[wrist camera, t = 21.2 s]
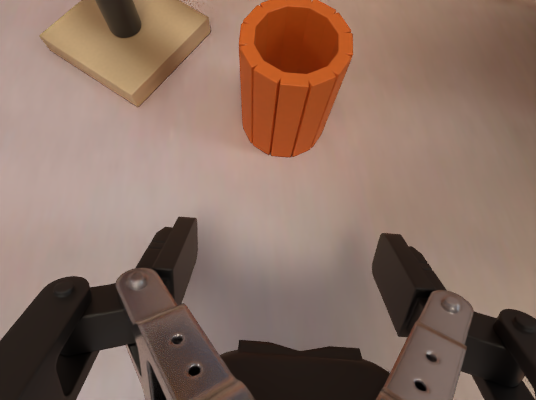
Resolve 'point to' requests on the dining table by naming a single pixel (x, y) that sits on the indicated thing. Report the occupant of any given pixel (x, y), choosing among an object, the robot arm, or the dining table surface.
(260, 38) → the orange collar
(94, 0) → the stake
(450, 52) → the dining table surface
